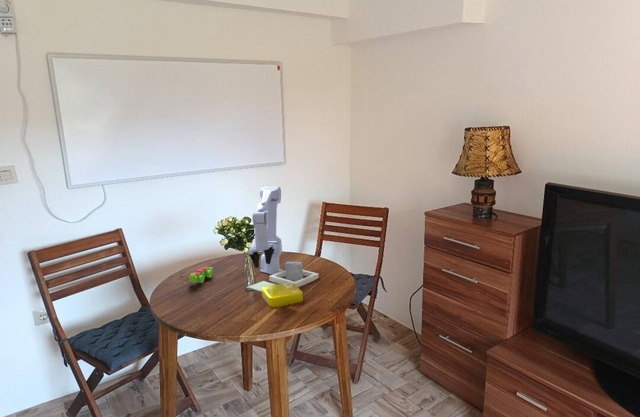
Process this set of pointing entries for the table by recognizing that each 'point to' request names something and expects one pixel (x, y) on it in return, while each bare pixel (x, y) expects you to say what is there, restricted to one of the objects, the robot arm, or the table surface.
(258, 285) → the mat
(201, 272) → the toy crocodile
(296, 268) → the medicine box
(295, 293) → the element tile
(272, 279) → the white square frame
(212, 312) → the table surface
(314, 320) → the table surface
